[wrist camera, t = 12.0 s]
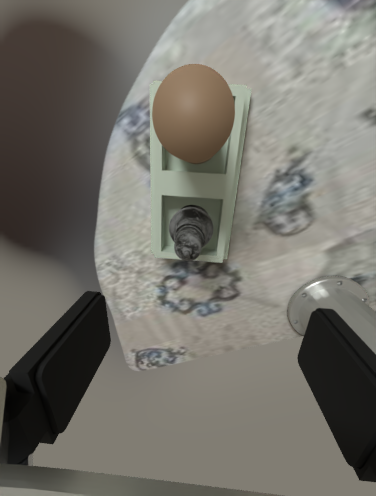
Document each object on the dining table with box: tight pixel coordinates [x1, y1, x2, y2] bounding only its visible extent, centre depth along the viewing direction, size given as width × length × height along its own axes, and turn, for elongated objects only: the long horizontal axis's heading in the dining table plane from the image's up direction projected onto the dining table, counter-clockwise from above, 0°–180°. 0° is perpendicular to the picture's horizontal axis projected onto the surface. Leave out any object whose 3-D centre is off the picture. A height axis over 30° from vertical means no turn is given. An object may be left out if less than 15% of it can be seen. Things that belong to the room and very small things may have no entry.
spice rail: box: [150, 64, 252, 263], centre depth 23 cm, size 22×12×13 cm, turn 177°
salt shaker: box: [169, 205, 213, 261], centre depth 24 cm, size 6×6×12 cm
